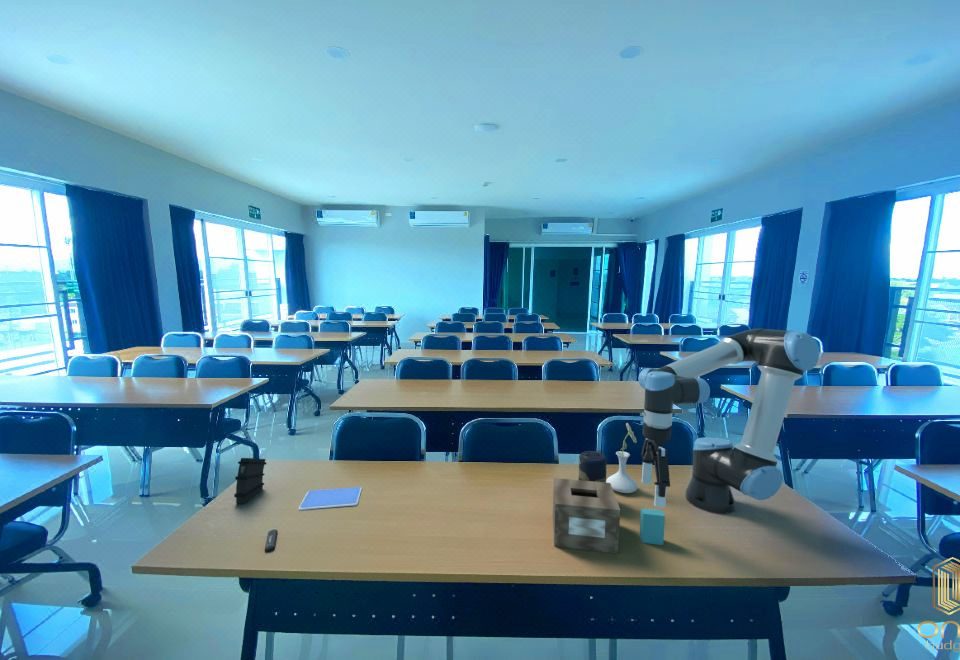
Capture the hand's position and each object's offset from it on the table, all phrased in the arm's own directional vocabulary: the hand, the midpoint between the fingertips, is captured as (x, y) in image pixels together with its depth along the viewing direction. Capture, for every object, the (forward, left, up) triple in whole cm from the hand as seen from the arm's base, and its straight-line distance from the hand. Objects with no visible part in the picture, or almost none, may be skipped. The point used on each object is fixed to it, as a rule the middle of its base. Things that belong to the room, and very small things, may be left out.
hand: (652, 494), depth 112 cm
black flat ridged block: (+137, -1, -15) cm, 137 cm away
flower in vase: (+2, -32, -15) cm, 35 cm away
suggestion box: (+20, 0, -15) cm, 24 cm away
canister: (+15, -20, -15) cm, 29 cm away
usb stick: (+111, +21, -15) cm, 114 cm away
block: (0, 0, -15) cm, 15 cm away
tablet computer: (+107, -4, -15) cm, 108 cm away
